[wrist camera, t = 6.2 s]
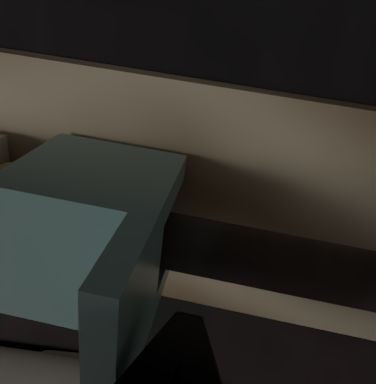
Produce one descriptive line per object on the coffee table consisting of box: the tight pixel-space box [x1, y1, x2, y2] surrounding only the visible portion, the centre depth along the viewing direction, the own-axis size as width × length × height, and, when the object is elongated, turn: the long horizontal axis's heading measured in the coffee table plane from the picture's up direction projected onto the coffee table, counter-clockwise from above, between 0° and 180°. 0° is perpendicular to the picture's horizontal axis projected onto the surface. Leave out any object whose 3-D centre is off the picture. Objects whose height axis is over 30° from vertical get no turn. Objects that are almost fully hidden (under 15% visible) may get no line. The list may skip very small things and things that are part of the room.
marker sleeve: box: [0, 133, 187, 384], centre depth 11 cm, size 5×5×8 cm
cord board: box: [0, 48, 376, 341], centre depth 13 cm, size 10×26×6 cm, turn 83°
